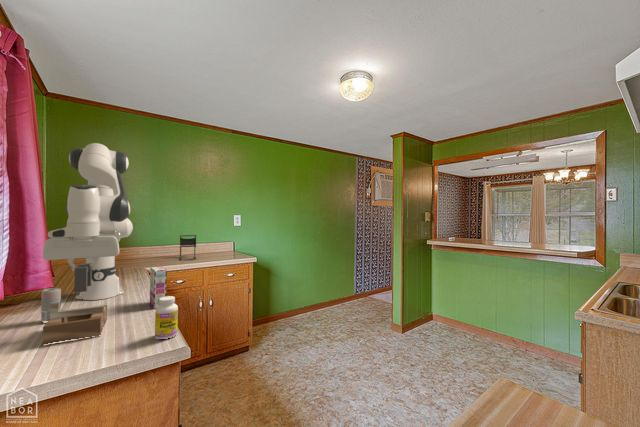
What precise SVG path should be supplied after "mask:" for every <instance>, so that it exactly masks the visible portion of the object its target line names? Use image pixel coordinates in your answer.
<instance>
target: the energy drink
mask: <svg viewBox="0 0 640 427" xmlns="http://www.w3.org/2000/svg"><path fill="white" fill-rule="evenodd" d="M40 293H41V297H40V300H41V305H40V306H41V307H40V308H41V309H40V314H41V316H40V318H41V319H40V322H41V321H49V320H50V304H51V303H53V302H60V310H62V289H61V288H60V287H52V288H51V287H50V288H45V289H43V290H41V292H40Z"/></svg>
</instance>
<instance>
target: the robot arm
mask: <svg viewBox="0 0 640 427" xmlns="http://www.w3.org/2000/svg"><path fill="white" fill-rule="evenodd" d="M68 162H69V164H70V166H71V168H73V169H74V170H75V171H78V173H79V174H80V176H81V177H82V178H83V179H85V180H86V181H87V184H74V185H71V186H70V187H69V190H68V195H67V200H66V201H65V214H66V215H67V216H68V218H67V221H66V225H65V227H60V228H57V229H53V230H50V231H48V232H47V237H48V238H47V240H45V241H44V244H43V250H42V259H44V260H46V261H56V260H67V264H68V265H69V266H70V267H71V272H72V273H75V268H76V267H77V266H78V265H76V264H75V263H74V262H75V259H85V263H92V265H89V271H92V285H91V286H87V291H86V292H79V294H78V295H76V296H75V298H76V299H75V298H74V299H75V300H82V299H83V300H82V301H96V300H97V301H98V300H105V299H109V298H114V297H117V296H121V295H123V294H125V292H124V290H123V288H122V287H121V283H120V277H119V276H117V275H116V273H117V266H116V265H115V264H116V263H115V262H116V257H117V256H119V255H120V244H119V243H120V241H121V239H123V238H127V237H129V236H130V235H131V234H132V233H133V230H134V226H133V222H132V221H131V220H130V219H129V216H130V214H131V205H130V202H129V200H128V197H127V194H126V190H125V186H124V182H123V179H122V178H123V177H122V176H121V174H122V175H123V174H124V173H125V172H126V171H127V170H128V168H129V164H130V162H129V158H128V157H127V154H126V153H125V152H121V151H120V150H119V151H118V150H117V151H115V150H110V149H109V148H108V147H107V146H106V145H104V144H102V143H99V142H93V143H88V144H87V145H86V146H85V147H84V148H83V147H78V148H77V147H75V148H73V149H71V150H70V153H69V155H68Z"/></svg>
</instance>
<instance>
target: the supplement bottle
mask: <svg viewBox="0 0 640 427" xmlns="http://www.w3.org/2000/svg"><path fill="white" fill-rule="evenodd" d="M175 297H176V296H172V295H168V296H167V295H166V297H162V298H160V299H159V303H160V305H159V306H158V307H157V308H156V309H155V311H154V312H155V315H154V316H155V317H154V318H155V319H154V320H155V322H154V325H155V326H154V337H155V339H156V340H158V339H166V340H169V339H168V338H170V339H173V338H175V337H176V336H177V335H178V326H179V325H178V324H179V323H178V322H179V319H178V317H179V316H178V315H179V306H178V305H177V304H176V303H175V301H176V298H175ZM175 335H176V336H175ZM174 336H175V337H174ZM172 337H173V338H172Z"/></svg>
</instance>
